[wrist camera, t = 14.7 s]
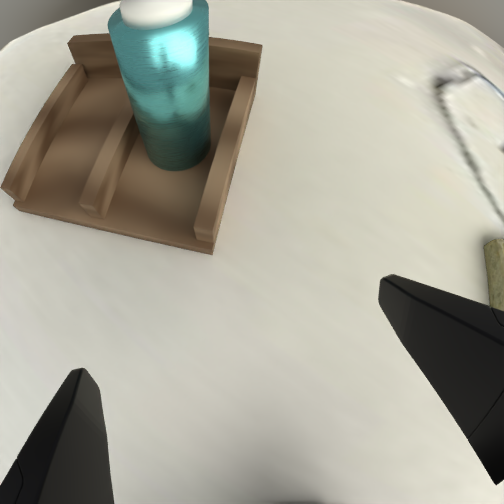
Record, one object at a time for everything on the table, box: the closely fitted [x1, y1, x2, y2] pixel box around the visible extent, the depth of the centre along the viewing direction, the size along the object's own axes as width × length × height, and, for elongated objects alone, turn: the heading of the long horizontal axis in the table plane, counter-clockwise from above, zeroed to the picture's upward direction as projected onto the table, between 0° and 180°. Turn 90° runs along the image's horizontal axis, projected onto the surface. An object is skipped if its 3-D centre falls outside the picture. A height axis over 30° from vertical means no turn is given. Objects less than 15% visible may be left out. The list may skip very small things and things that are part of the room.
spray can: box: [108, 0, 211, 171], centre depth 18 cm, size 5×5×14 cm
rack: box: [0, 33, 262, 255], centre depth 22 cm, size 16×18×6 cm
